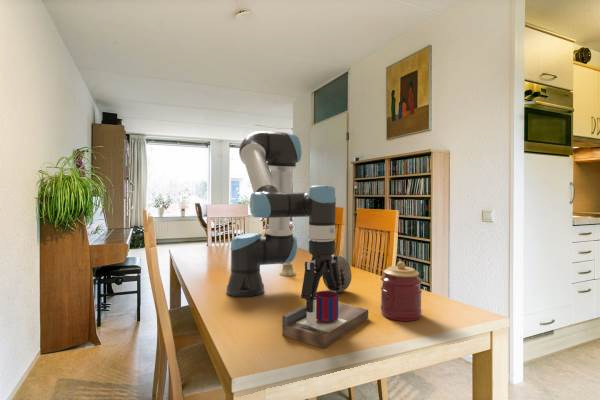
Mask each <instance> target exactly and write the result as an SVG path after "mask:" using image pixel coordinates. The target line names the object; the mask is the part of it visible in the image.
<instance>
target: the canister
mask: <svg viewBox="0 0 600 400" xmlns="http://www.w3.org/2000/svg"><path fill="white" fill-rule="evenodd" d="M419 275H420V272H419V271H417V270H416V269H415V268H414V267H410V266H406V263H405V262H404V261H402V260H401V261H397V264H396V265H389V266H388V267H387V268H386V269H384V270H383V275H382V276H381V277H380V280H381V281H382V283H381V286H380V294H381V295H380V300H381V301H380V311H381V314H382V316H383V317H385V318H387V319H390V320H393V321H398V322H399V321H400V322H412V321H417V320H419V319H420V318H421V317H422V313H423V312H422V311H423V309H422V292H423V290H422V289H421V284H422V282H423V280H422V279H421V278H420V277H419Z"/></svg>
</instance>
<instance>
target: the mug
mask: <svg viewBox="0 0 600 400" xmlns="http://www.w3.org/2000/svg"><path fill="white" fill-rule="evenodd" d="M314 300H316V319H317V320H320V321H325V322H331V321H335V320H337V319H338V303H339V292H333V291H327V290H319V291H317V292H316V295H315V299H314Z"/></svg>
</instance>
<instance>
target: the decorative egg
mask: <svg viewBox="0 0 600 400" xmlns="http://www.w3.org/2000/svg"><path fill="white" fill-rule="evenodd" d="M333 255H334V256H337V257H338V260H337V264H338V272H339V279H340V287H339V288H340V289H339V291H336V293H342V292H344V291H346V290H347V289H348V288H349V286H350V285H351V282H352V269H351V267H350V264H349V262H348V260H347V259H346V258H344V256H341V255H339V254H337V255H336V254H333ZM322 281H323V283H324V286H325V287H326V288H327V290H330V289H329V288H328V285H327V282H326V279H325V276H324V273H323V276H322ZM335 282H336V281H335Z"/></svg>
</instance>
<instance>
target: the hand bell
mask: <svg viewBox="0 0 600 400" xmlns="http://www.w3.org/2000/svg"><path fill="white" fill-rule="evenodd" d="M296 275H297V272H296V271H295V270H294V268H293V263H292V262H290V263H284V264H282V268H281V270H280V272H279V276H282V277H293V276H296Z"/></svg>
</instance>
